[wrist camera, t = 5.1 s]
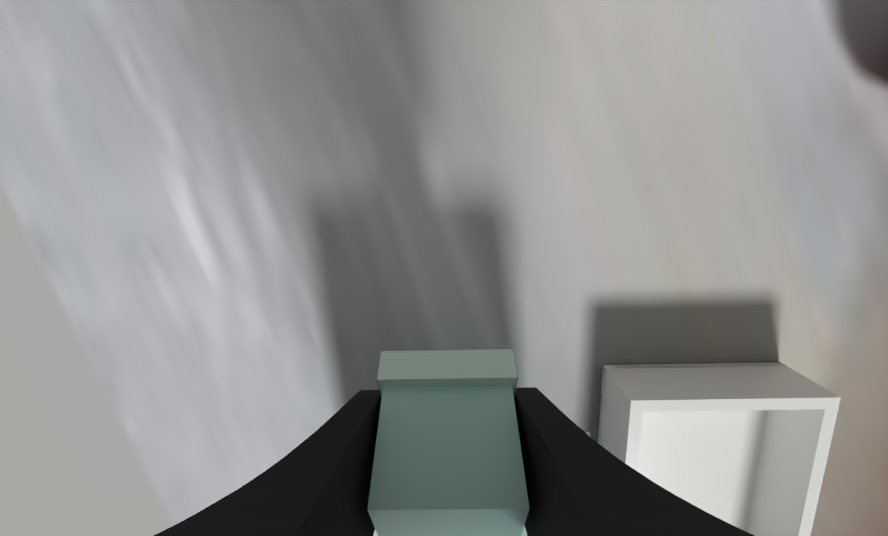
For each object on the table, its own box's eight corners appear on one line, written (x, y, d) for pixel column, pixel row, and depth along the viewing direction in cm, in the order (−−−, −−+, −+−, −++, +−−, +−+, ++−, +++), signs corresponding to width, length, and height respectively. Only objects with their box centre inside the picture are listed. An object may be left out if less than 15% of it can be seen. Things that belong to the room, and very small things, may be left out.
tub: (742, 573, 21) (788, 636, 19) (588, 574, 22) (609, 637, 19) (779, 362, 19) (840, 397, 16) (603, 364, 19) (631, 400, 16)
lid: (535, 529, 22) (551, 640, 18) (373, 530, 22) (360, 641, 19) (613, 315, 11) (688, 500, 7) (282, 321, 11) (211, 505, 7)
